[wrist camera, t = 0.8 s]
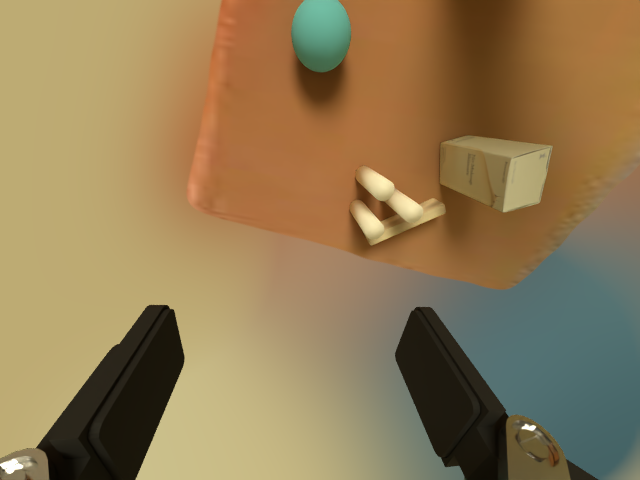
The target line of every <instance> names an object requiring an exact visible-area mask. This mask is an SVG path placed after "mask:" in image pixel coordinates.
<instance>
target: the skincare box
mask: <svg viewBox="0 0 640 480" xmlns="http://www.w3.org/2000/svg"><path fill="white" fill-rule="evenodd" d="M552 147H553V146H550V145H542V144H534V143H526V142H518V141H510V140H503V139H494V138H486V137H479V136H471V135H467V136H463V137H460V138H456V139H452V140H449V141H446V142H442V143H441V144H440V184H442V185H444V186H446V187H448V188H450V189H453V190H455V191H457V192H459V193H461V194H464V195H466V196H468V197H470V198H472V199H475V200H477V201H479V202H481V203H483V204H486V205H488V206H490V207H492V208H494V209H497V210H499V211H501V212H508V211H512V210H516V209H520V208H524V207H527V206H531V205H535V204H538V203H539V202H540V200H541V196H542V192H543V187H544V183H545V180H546V175H547V170H548V165H549V161H550V156H551V151H552Z"/></svg>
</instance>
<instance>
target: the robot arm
mask: <svg viewBox="0 0 640 480" xmlns="http://www.w3.org/2000/svg"><path fill="white" fill-rule="evenodd" d="M395 357H396V362H397V364H398V366H399V369H400V371H401V373H402V376H403V378H404V380H405V383H406V385H407V387H408V390H409V392H410V394H411V397H412V399H413V402H414V404H415V406H416V409H417V411H418V413H419V416H420V418H421V420H422V423H423V425H424V427H425V430H426V432H427V434H428V437H429V439H430V442H431V444H432V446H433V449H434V451H435V452H436V454H437V455H438V456H439V457H441V459H442V461H443V463H444V465H445V467H451V466H460V468H461V470H462V472H463V474H464V476H465V478H464V480H598V479H596V478H595V477H593V476H592V475H590V474H588V473H587V472H585V471H584V470H582V469H581V468H579V467H578V466H576V465H575V464H573V463H571V462H570V461H568V460H567V459H566V458H565V456H564V453H563V451H562V449H561V448H560V446H559V444H558V443H557V442H556V441H555V439H554V438H553V437H552V436H551V435H550V433H548V432H547V431H546V430H545V429H544V428H543V427H542V426H540V425H539V424H537V423H536V422H534V421H533V420H531V419H529V418H527V417H525V416H521V415H512V416H510V417H508V415H507V414H506V412H505V411H506V410H505V408H504V407H503V405H502V404H501V403H500V401H499V400H498V399H497V397H496V396H495V394H494V393H493V392H492V390H491V389H490V388H489V386H488V385H487V383H486V382H485V381H484V379H483V378H482V376H481V375H480V374H479V372H478V371H477V369H476V368H475V367H474V365H473V364H472V363H471V361H470V360H469V358H468V357H467V356H466V354H465V353H464V351H463V350H462V349H461V347H460V346H459V345H458V343H457V342H456V340H455V339H454V338H453V336H452V335H451V333H450V332H449V331H448V329H447V328H446V327H445V325H444V324H443V322H442V321H441V320H440V319H439V317H438V316H437V314H436V313H435V311H434V310H433V309H432V308H430V307H416V308H415V309H414V311H412V312H411V313H410V316H409V319H408V321H407V324H406V326H405V329H404V331H403V334H402V337H401V339H400V342H399V344H398V347H397V350H396V353H395ZM183 364H184V353H183V348H182V344H181V340H180V335H179V330H178V326H177V322H176V317H175V312H174V310H173V309H170V308H169V306H168V305H149V306H147V307H146V308H145V310H144V311H143V313H142V314H141V315H140V317H139V318H138V320H137V321H136V322H135V323H134V325H133V326H132V328H131V329H130V330H129V332H128V333H127V334H126V336H125V337H124V339H123V340H122V341H121V342H120V344H117V345H115V346H114V347H113V348H112V349H111V350H110V351H109V352H108V353H107V355H106V356H105V357H104V359H103V360H102V361H101V363H100V364H99V365H98V367H97V368H96V369H95V371H94V372H93V373H92V374H91V376H90V377H89V379H88V380H87V381H86V382H85V384H84V385H83V386H82V388H81V389H80V390H79V392H78V393H77V394H76V396H75V397H74V399H73V400H72V401H71V402H70V404H69V405H68V406H67V408H66V409H65V410H64V411H63V413H62V414H61V416H60V417H59V418H58V419H57V421H56V422H55V423H54V425H53V426H52V427H51V429H50V430H49V432H48V433H47V434H46V435H45V437H44V438H43V439H42V441H41V442H40V443H39V445H38V446H37V447H36V448H35V449H34V448H33V449H32V448H27V449H23V450H20V451H16V452H13V453H11V454H9V455H7V456H5V457H2V458H1V459H0V480H135V479H136V477H137V474H138V472H139V470H140V468H141V465H142V463H143V460H144V458H145V456H146V453H147V451H148V449H149V446H150V444H151V441H152V439H153V437H154V434H155V432H156V430H157V427H158V425H159V422H160V420H161V418H162V415H163V413H164V411H165V408H166V406H167V403H168V401H169V399H170V396H171V394H172V392H173V389H174V387H175V384H176V382H177V379H178V377H179V375H180V373H181V370H182V368H183Z"/></svg>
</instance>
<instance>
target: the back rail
mask: <svg viewBox="0 0 640 480" xmlns="http://www.w3.org/2000/svg"><path fill="white" fill-rule="evenodd" d="M419 205H420V206H422V208H423V215H422V217H421V218H420V219H419V220H418V221H417V222H414V223H409V222H407V221H405V220H404V219H403V218H402V217H401V216H400V215H399V214H396V215H394V216H392V217H389V218H387V219H385V220H383V221H380V222H381V223H382V224H383V226H384V233H383V235H382V236H381V237H380V238H378V239H375V240H371V239H369V238H367V237H366V235H365V234H364V235H365V238H366V239H367V241H368V242H369V244H370V246H372V245H374V244H376V243H378V242H381V241H383V240H385V239H388V238H390V237H392V236H394V235H397V234H399V233H401V232H404V231H406V230H408V229H410V228H413V227H415V226H417V225H420V224H422V223H424V222H426V221H429V220H431V219H433V218H435V217H438V216H440V215H442V214H445V213H446V210H445V205H444V204H443V203H441V202H440V201H438V200H436V199H434V198H432V199H430V200H428V201H425V202H423V203H421V204H419ZM363 233H364V232H363Z"/></svg>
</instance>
